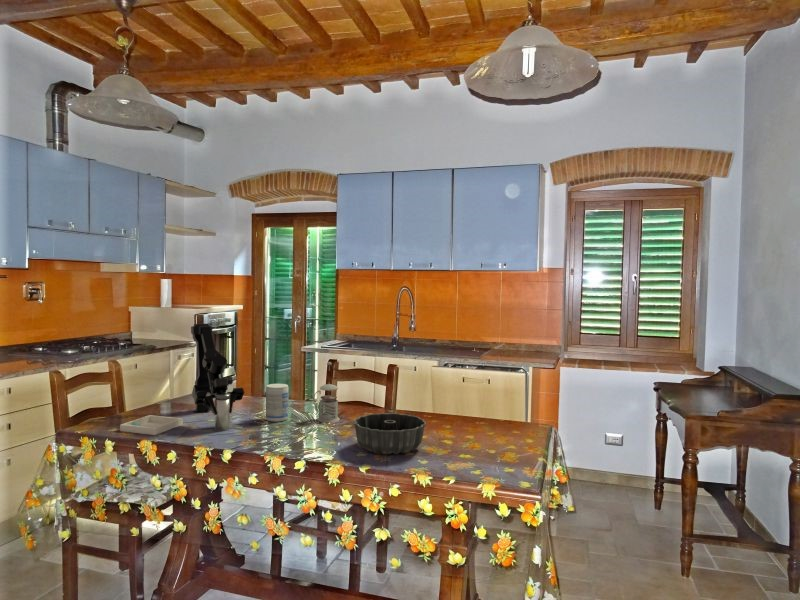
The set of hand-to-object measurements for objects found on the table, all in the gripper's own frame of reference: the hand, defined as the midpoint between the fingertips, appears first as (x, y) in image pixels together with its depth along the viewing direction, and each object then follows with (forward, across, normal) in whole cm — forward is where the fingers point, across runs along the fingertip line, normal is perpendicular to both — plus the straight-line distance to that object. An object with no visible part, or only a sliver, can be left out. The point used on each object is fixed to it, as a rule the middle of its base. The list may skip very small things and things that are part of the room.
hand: (223, 413), depth 221 cm
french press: (+7, +43, +3) cm, 44 cm away
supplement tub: (0, +24, +9) cm, 26 cm away
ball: (-6, -30, +15) cm, 34 cm away
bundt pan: (+40, +47, -31) cm, 69 cm away
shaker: (+4, 0, +6) cm, 7 cm away
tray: (-5, -24, +15) cm, 29 cm away
